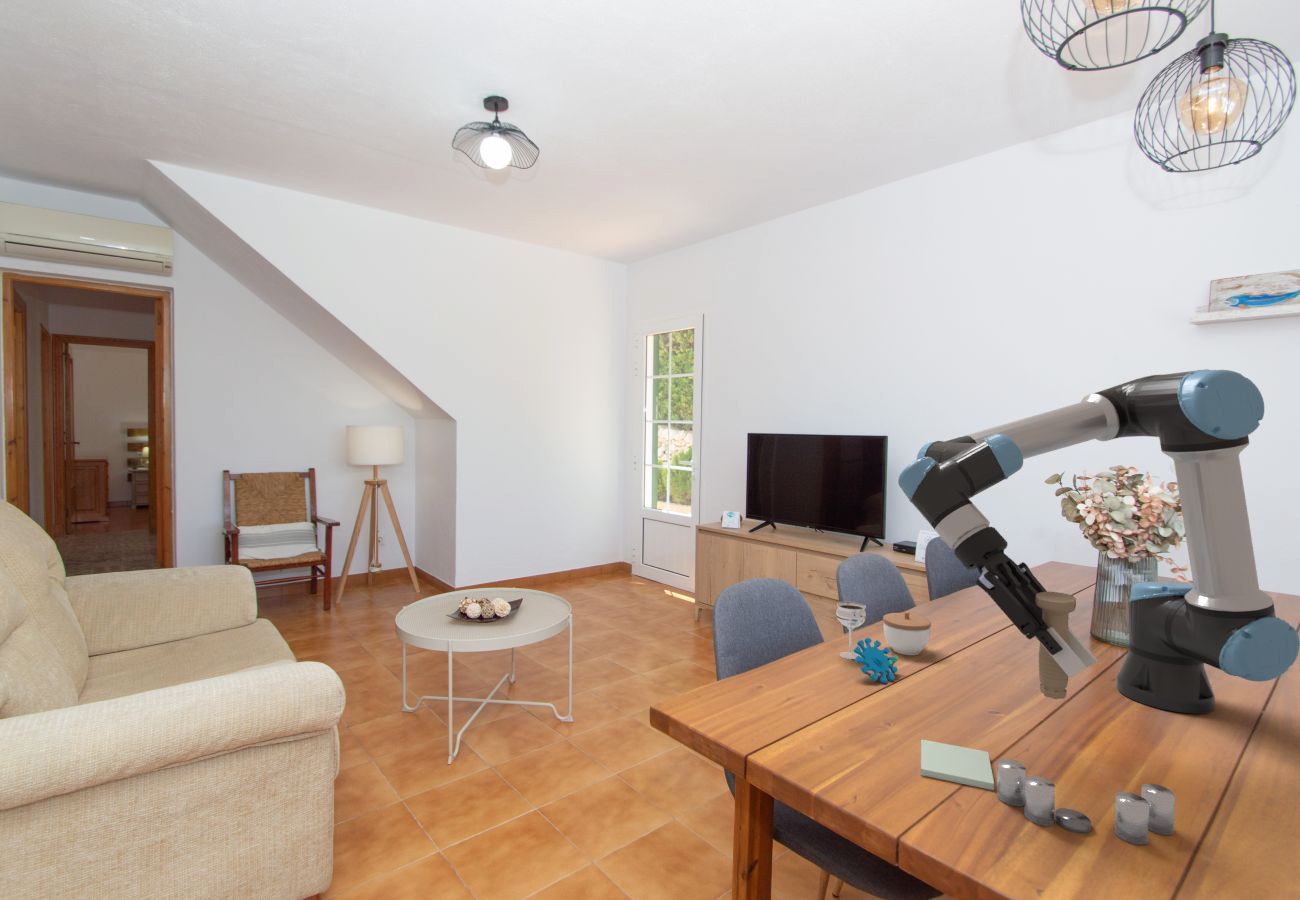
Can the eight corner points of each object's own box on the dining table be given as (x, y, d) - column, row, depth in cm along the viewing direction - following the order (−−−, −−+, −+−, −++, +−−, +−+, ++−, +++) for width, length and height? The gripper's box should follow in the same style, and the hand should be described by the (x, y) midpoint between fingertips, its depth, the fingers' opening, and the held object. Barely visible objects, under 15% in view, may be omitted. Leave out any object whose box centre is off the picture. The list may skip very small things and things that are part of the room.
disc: (1085, 820, 86) (1085, 811, 86) (1094, 838, 82) (1095, 829, 82) (1051, 814, 87) (1051, 805, 87) (1059, 831, 84) (1059, 822, 84)
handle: (1028, 697, 93) (1031, 598, 92) (1040, 684, 97) (1042, 589, 97) (1067, 707, 89) (1069, 604, 89) (1076, 694, 94) (1079, 595, 93)
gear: (867, 680, 129) (850, 635, 136) (852, 692, 133) (836, 648, 140) (910, 680, 132) (892, 637, 139) (894, 692, 136) (877, 649, 143)
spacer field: (1168, 822, 85) (1169, 787, 85) (1190, 859, 78) (1192, 820, 78) (995, 787, 93) (996, 754, 93) (1001, 816, 86) (1002, 781, 86)
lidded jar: (881, 655, 148) (882, 616, 147) (883, 640, 158) (883, 604, 157) (931, 661, 144) (932, 621, 143) (929, 646, 154) (930, 609, 153)
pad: (987, 757, 102) (987, 751, 102) (994, 790, 93) (994, 783, 92) (921, 745, 106) (921, 739, 106) (920, 775, 97) (920, 768, 97)
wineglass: (850, 663, 143) (851, 611, 142) (829, 653, 149) (829, 603, 148) (871, 657, 146) (872, 607, 145) (850, 648, 152) (850, 600, 151)
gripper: (979, 546, 110) (1084, 668, 97) (929, 557, 100) (1038, 695, 87) (1012, 520, 105) (1126, 644, 93) (963, 529, 96) (1083, 669, 83)
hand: (1083, 668), depth 90 cm, fingers closed on handle, 3 cm apart
